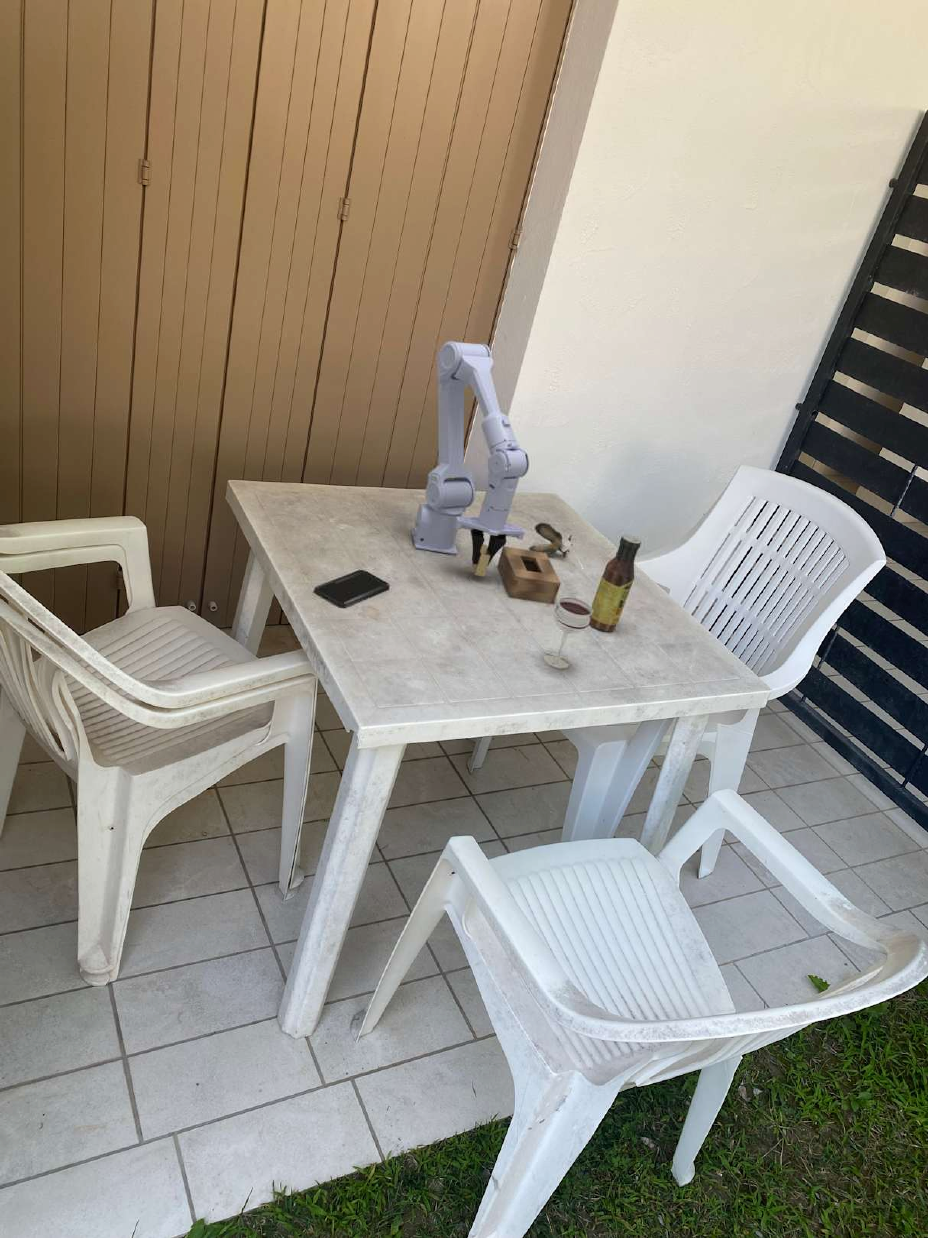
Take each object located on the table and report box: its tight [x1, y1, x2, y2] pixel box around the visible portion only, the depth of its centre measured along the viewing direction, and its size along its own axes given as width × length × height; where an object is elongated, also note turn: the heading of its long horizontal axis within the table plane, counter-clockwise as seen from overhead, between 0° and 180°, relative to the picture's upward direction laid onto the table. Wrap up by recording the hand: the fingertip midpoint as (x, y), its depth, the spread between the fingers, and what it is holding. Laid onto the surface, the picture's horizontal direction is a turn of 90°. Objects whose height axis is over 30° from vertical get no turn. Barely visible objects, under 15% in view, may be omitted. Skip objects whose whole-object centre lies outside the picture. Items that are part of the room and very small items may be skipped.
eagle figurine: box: [528, 522, 574, 558], centre depth 218 cm, size 8×7×9 cm
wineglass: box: [543, 596, 593, 669], centre depth 172 cm, size 7×7×12 cm
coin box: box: [497, 545, 562, 605], centre depth 200 cm, size 10×14×5 cm
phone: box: [313, 569, 391, 609], centre depth 180 cm, size 8×1×15 cm
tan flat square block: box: [471, 543, 490, 577], centre depth 196 cm, size 2×5×5 cm, turn 9°
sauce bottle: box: [589, 534, 642, 632], centre depth 188 cm, size 7×6×20 cm
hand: (479, 563), depth 196 cm, fingers closed on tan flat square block, 2 cm apart
